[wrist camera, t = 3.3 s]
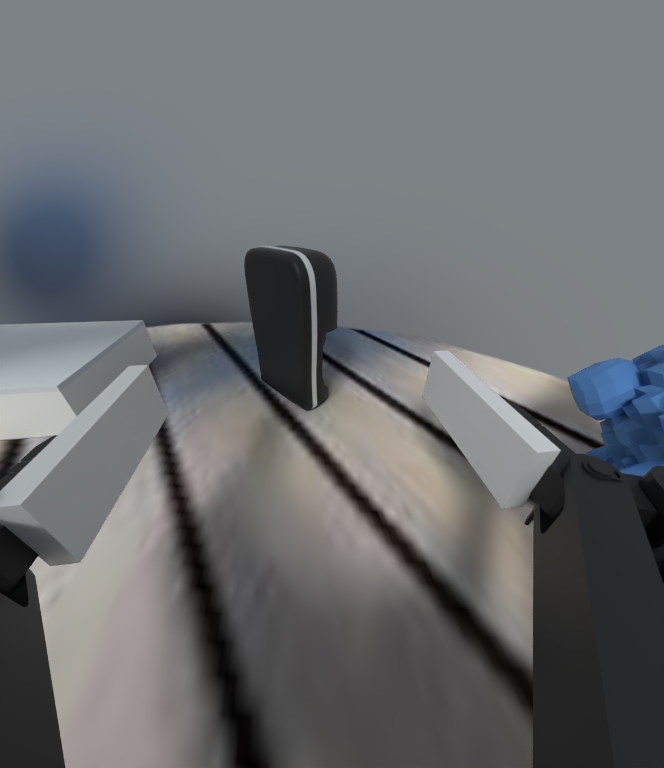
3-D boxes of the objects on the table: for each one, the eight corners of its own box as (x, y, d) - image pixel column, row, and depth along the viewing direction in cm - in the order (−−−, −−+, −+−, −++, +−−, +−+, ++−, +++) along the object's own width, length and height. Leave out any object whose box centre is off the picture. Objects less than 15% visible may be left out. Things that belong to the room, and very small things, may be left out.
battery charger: (341, 396, 23) (347, 249, 17) (308, 416, 21) (301, 254, 15) (291, 367, 27) (282, 240, 21) (259, 381, 25) (237, 243, 19)
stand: (-153, 451, 17) (-222, 401, 15) (9, 362, 27) (-18, 325, 25) (87, 433, 19) (56, 386, 17) (156, 356, 29) (143, 320, 27)
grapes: (538, 411, 22) (630, 246, 15) (656, 454, 18) (844, 260, 11) (502, 513, 14) (651, 276, 8) (689, 621, 11) (1277, 341, 4)
